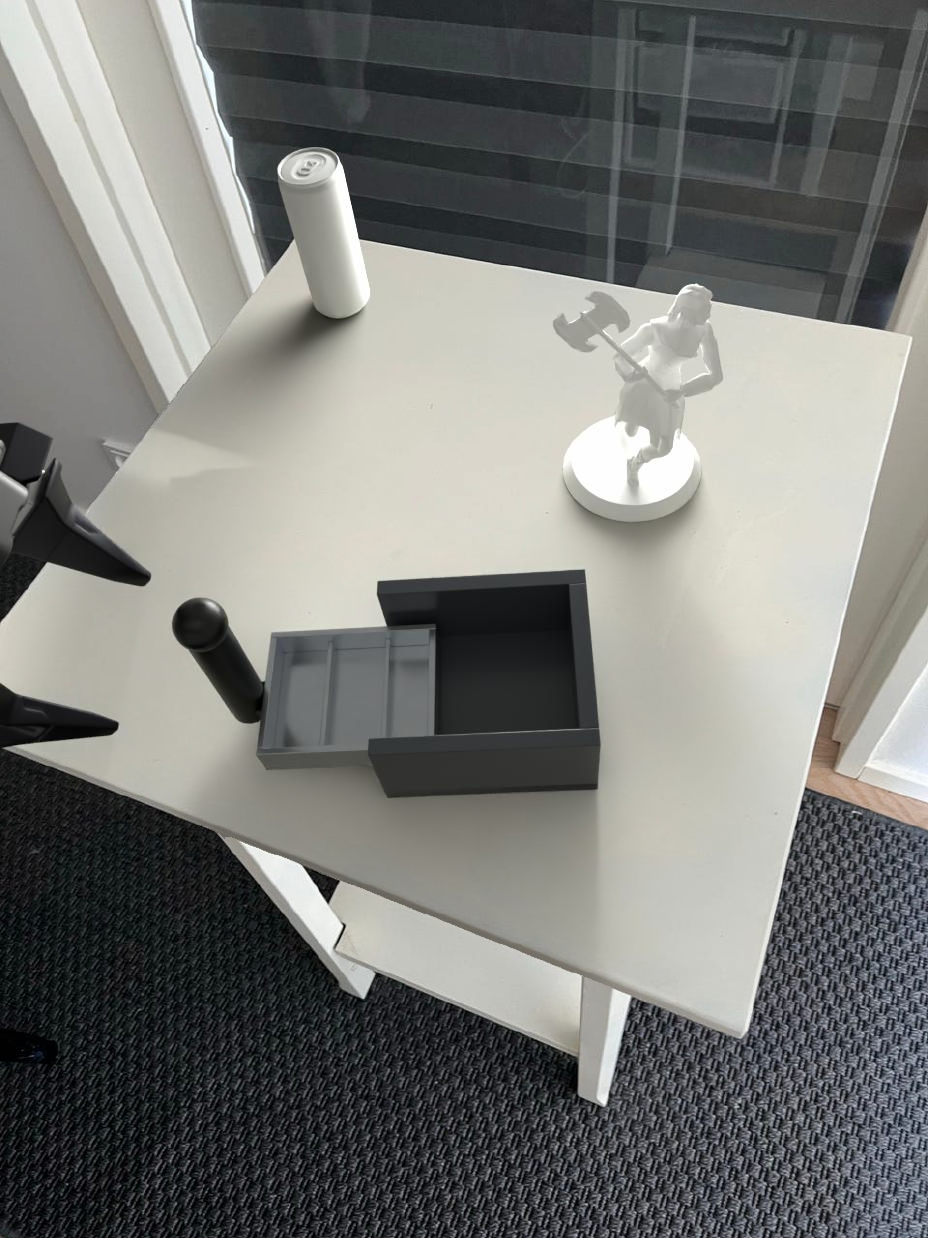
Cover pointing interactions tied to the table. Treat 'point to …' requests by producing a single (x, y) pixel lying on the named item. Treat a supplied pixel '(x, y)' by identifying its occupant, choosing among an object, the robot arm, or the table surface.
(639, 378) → the figurine
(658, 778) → the table surface
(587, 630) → the grey drawer case
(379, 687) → the pull-out drawer
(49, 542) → the robot arm
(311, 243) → the beverage can
